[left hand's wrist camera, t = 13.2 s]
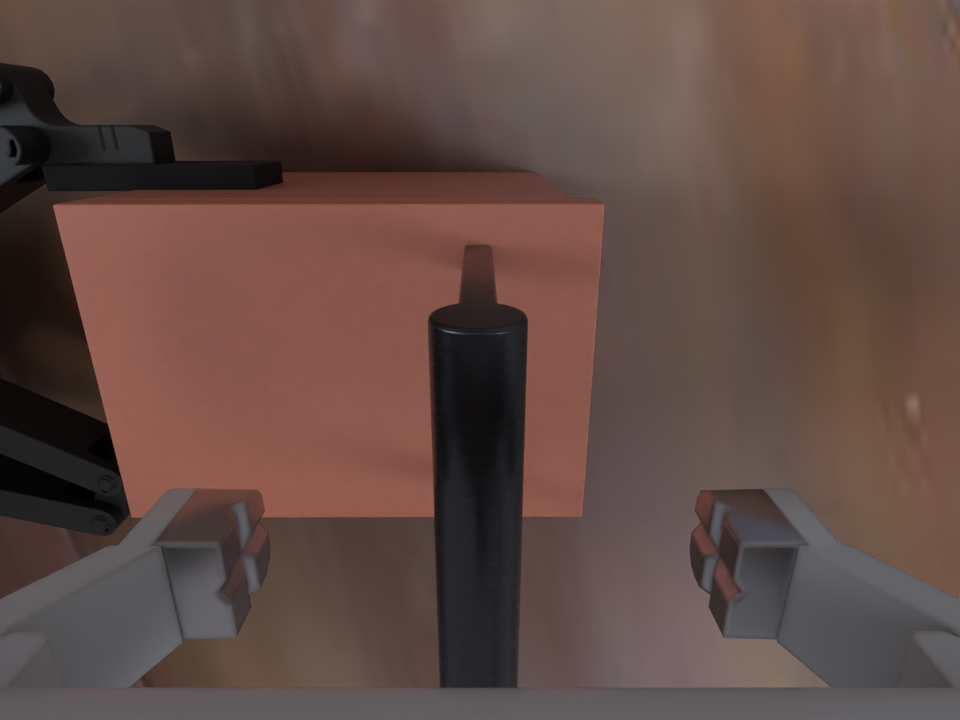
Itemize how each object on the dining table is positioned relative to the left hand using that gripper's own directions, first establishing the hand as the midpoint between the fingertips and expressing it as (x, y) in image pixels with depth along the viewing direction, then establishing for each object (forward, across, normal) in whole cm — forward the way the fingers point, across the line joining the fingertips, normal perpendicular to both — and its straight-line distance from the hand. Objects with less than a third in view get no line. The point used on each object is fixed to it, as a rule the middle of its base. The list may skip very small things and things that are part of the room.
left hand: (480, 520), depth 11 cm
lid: (+8, +4, 0) cm, 9 cm away
